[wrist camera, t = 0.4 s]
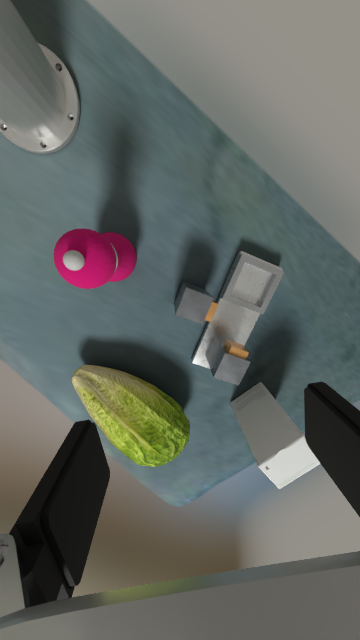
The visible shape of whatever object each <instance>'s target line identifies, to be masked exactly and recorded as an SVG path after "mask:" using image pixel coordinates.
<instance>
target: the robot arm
mask: <svg viewBox="0 0 360 640" xmlns="http://www.w3.org/2000/svg"><path fill="white" fill-rule="evenodd" d="M79 118H80V102H79V97H78V92H77V89H76V86H75V84H74V81H73V79H72V77H71V75H70V73H69V71H68V70H67V68H66V67H65V65H64V64H63V62H62V61H61V60H60V59H59V58H58V57H57V56H56V55H55V53H53V52H52V51H51V50H50V49H48V48H47V47H46V46H44V45H42V44H40V43H38V42H37V41H36V40H35V38H34V37H33V35H32V33H31V32H30V30H29V29H28V27H27V25H26V24H25V22H24V20H23V19H22V17H21V16H20V14H19V12H18V11H17V9H16V7H15V6H14V4H13V3H12V1H11V0H0V132H1V133H2V134H3V135H4V136H5V137H6V138H7V139H9V140H10V141H11V142H12V143H14V144H15V145H17V146H18V147H20V148H21V149H24V150H26V151H28V152H31V153H36V154H49V153H54V152H56V151H58V150H60V149H62V148H63V147H64V146H66V145H67V144H68V143H69V142H70V140H71V139H72V138H73V136H74V134H75V132H76V130H77V127H78V123H79ZM72 119H73V120H72ZM45 146H46V148H45ZM304 401H305V439H306V443H307V445H308V447H309V448H310V450H311V451H312V452H313V454H314V455H315V456H316V458H317V459H318V461H319V462H320V463H321V465H322V466H323V467H324V469H325V470H326V472H327V473H328V474H329V476H330V477H331V478H332V480H333V481H334V482H335V484H336V485H337V487H338V488H339V489H340V491H341V492H342V493H343V495H344V496H345V497H346V499H347V500H348V502H349V503H350V504H351V506H352V507H353V509H354V510H355V511H356V513H357V514H358V515H359V517H360V411H359V410H358V409H357V408H355V407H354V406H353V405H352V404H350V403H349V402H348V401H347V400H346V399H344V398H343V397H342V396H341V395H339V394H338V393H337V392H336V391H334V390H333V389H332V388H331V387H329V386H328V385H327V384H326V383H324V382H317V383H311V384H308V386H307V388H305V389H304ZM109 478H110V470H109V467H108V463H107V460H106V457H105V454H104V450H103V447H102V444H101V441H100V437H99V434H98V431H97V428H96V425H95V423H92V422H91V421H90V420H85V421H78V422H75V424H74V425H73V427H72V428H71V430H70V432H69V434H68V435H67V437H66V439H65V440H64V442H63V444H62V445H61V447H60V449H59V450H58V452H57V454H56V456H55V457H54V459H53V461H52V462H51V464H50V466H49V467H48V469H47V471H46V472H45V474H44V476H43V477H42V479H41V481H40V482H39V484H38V486H37V487H36V489H35V491H34V493H33V494H32V496H31V498H30V499H29V501H28V503H27V505H26V506H25V508H24V509H23V511H22V513H21V515H20V516H19V518H18V519H17V521H16V523H15V525H14V526H13V528H12V530H11V531H10V533H9V534H0V640H360V551H358V552H352V553H346V554H339V555H332V556H325V557H318V558H313V559H305V560H299V561H292V562H286V563H279V564H272V565H266V566H260V567H253V568H247V569H241V570H235V571H229V572H222V573H215V574H209V575H203V576H197V577H190V578H184V579H178V580H172V581H166V582H160V583H154V584H148V585H141V586H135V587H129V588H123V589H118V590H111V591H105V592H100V593H94V594H89V595H84V596H78V597H73V598H71V597H72V594H73V590H74V587H75V586H76V585H78V584H79V583H80V581H81V578H82V574H83V571H84V567H85V564H86V560H87V556H88V553H89V549H90V546H91V542H92V539H93V535H94V532H95V528H96V525H97V521H98V517H99V514H100V510H101V507H102V503H103V500H104V496H105V493H106V489H107V486H108V482H109Z"/></svg>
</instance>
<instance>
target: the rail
mask: <svg viewBox="0 0 360 640" xmlns="http://www.w3.org/2000/svg"><path fill="white" fill-rule="evenodd" d="M283 274H284V271H282V268H280V267H278V266H276V265H273V264H271V263H269V262H266V261H264V260H262V259H259V258H257V257H255V256H252V255H250V254H248V253H245V252H243V251H238V254H237V256H236V258H235V260H234V263H233V265H232V267H231V270H230V272H229V274H228V276H227V279H226V281H225V283H224V286H223V288H222V290H221V293H220V295H219V297H218V299H217V303H218V304H219V305H218V307H217V309H216V312H215V314H214V316H213V319H212V321H211V322H209V321H208V322H207V325H206V327H205V329H204V331H203V334H202V336H201V338H200V341H199V343H198V345H197V347H196V350H195V352H194V354H193V357H192V359H191V360H192V363H194V364H197V365H200V366H203V367H206V368H209V369H211V372H212V374H213V377H214V378H217V379H220V380H223V381H226V382H229V383H232V384H235V385H238V386H239V384H240V382H241V380H242V378H243V376H244V374H245V372H246V370H247V368H248V367H249V365H250V363H251V362H250V360H249V359H248V358H247V356H248V354H249V352H248V351H247V349H246V348H245V347H244V345H245V343H246V341H247V339H248V337H249V335H250V333H251V331H252V329H253V327H254V325H255V323H256V321H257V319H258V317H259V315H260V314H264V312H265V310H266V308H267V306H268V304H269V302H270V300H271V298H272V296H273V294H274V292H275V290H276V288H277V286H278V284H279V282H280V280H281V278H282V276H283Z"/></svg>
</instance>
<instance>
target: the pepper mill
mask: <svg viewBox="0 0 360 640" xmlns="http://www.w3.org/2000/svg"><path fill="white" fill-rule="evenodd" d="M136 259H137V257H136V252H135V249H134V247H133V245H132V244H131V242H130V241H129V240H128V239H127V238H125V237H124V236H122V235H120V234H117V233H112V232H107V233H102V234H100V233H98V232H96V231H93V230H90V229H74V230H71V231H69V232H67V233H65V234H64V235H62V237H61V238H60V239H59V240H58V242H57V243H56V246H55V249H54V262H55V266H56V268H57V270H58V272H59V273H60V275H61V276H62V277H63V278H64V279H65V280H66V281H67V282H69V283H70V284H72V285H74V286H76V287H80V288H85V289H90V288H96V287H100V286H102V285H104V284H105V283H107V282H108V281H113V282H115V281H120V280H123V279H125V278H127V277H128V276H129V275H130V274H131V273H132V272H133V270H134V268H135V265H136Z"/></svg>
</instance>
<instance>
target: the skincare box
mask: <svg viewBox="0 0 360 640" xmlns="http://www.w3.org/2000/svg"><path fill="white" fill-rule="evenodd" d="M230 404H231V406H232V408H233V411H234V413H235V415H236V417H237V419H238V422H239V424H240V426H241V428H242V430H243V433H244V435H245V437H246V439H247V441H248V444H249V446H250V448H251V450H252V452H253V455H254V457H255V459H256V462H257V465H258V467H259V468H260V469H261V470H262V471H263V472H264V473H265V474H266V475H267V477H268V478H269V479H270V480H271V481H272V482H273V483H274V484H275V485H276V486H277V487H278V488H279V489H280V488H282V487H284V486H285V485H287V484H288V483H290V482H292V481H293V480H295V479H296V478H298V477H300V476H301V475H303V474H304V473H306V472H308V471H309V470H311V469H312V468H314V467H316V466H317V465H319V464H321V463H320V462H319V461H318V459H317V458H316V456H315V455H314V454H313V452H312V451H311V450H310V448H309V447H308V445H307V443H306V439H305V437H304V435H303V434H302V433H301V431H300V430H299V429H298V428H297V426H296V425H295V424H294V423H293V421H292V420H291V419H290V417H289V416H288V415H287V414H286V412H285V411H284V410H283V409H282V407H281V406H280V405H279V404H278V402H277V401H276V400H275V399H274V397H273V396H272V395H271V393H270V392H269V391H268V390H267V388H266V387H265V386H264V385H263V384H262V382H259V383H258V384H257V385H255V386H254V387H252V388H251V389H249V390H248V391H246V392H245V393H243V394H242V395H241V396H239V397H238V398H236V399H235V400H233V401H232V402H231V403H230Z"/></svg>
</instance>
